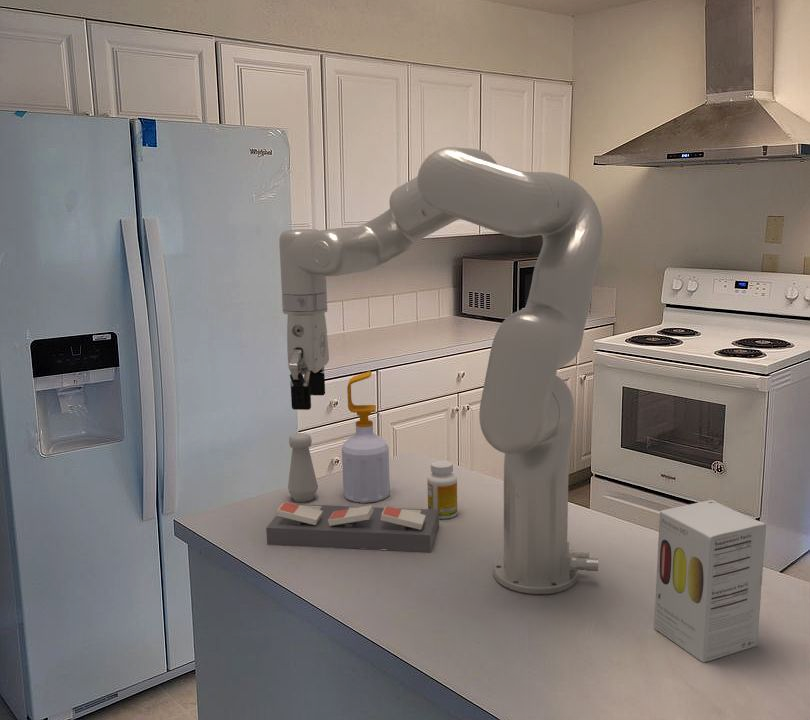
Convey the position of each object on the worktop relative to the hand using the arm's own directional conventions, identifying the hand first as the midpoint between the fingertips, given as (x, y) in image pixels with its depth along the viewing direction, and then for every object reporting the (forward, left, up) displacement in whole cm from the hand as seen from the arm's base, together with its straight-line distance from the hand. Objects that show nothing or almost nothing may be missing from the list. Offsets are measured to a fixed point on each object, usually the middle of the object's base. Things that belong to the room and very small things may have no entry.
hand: (309, 401), depth 140 cm
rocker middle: (-8, +5, -19) cm, 21 cm away
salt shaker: (+6, -13, -23) cm, 27 cm away
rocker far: (+1, +5, -19) cm, 19 cm away
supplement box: (-61, +30, -23) cm, 72 cm away
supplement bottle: (-22, -8, -23) cm, 33 cm away
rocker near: (-17, +5, -19) cm, 26 cm away
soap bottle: (-6, -16, -23) cm, 29 cm away
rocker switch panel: (-8, +3, -23) cm, 24 cm away
